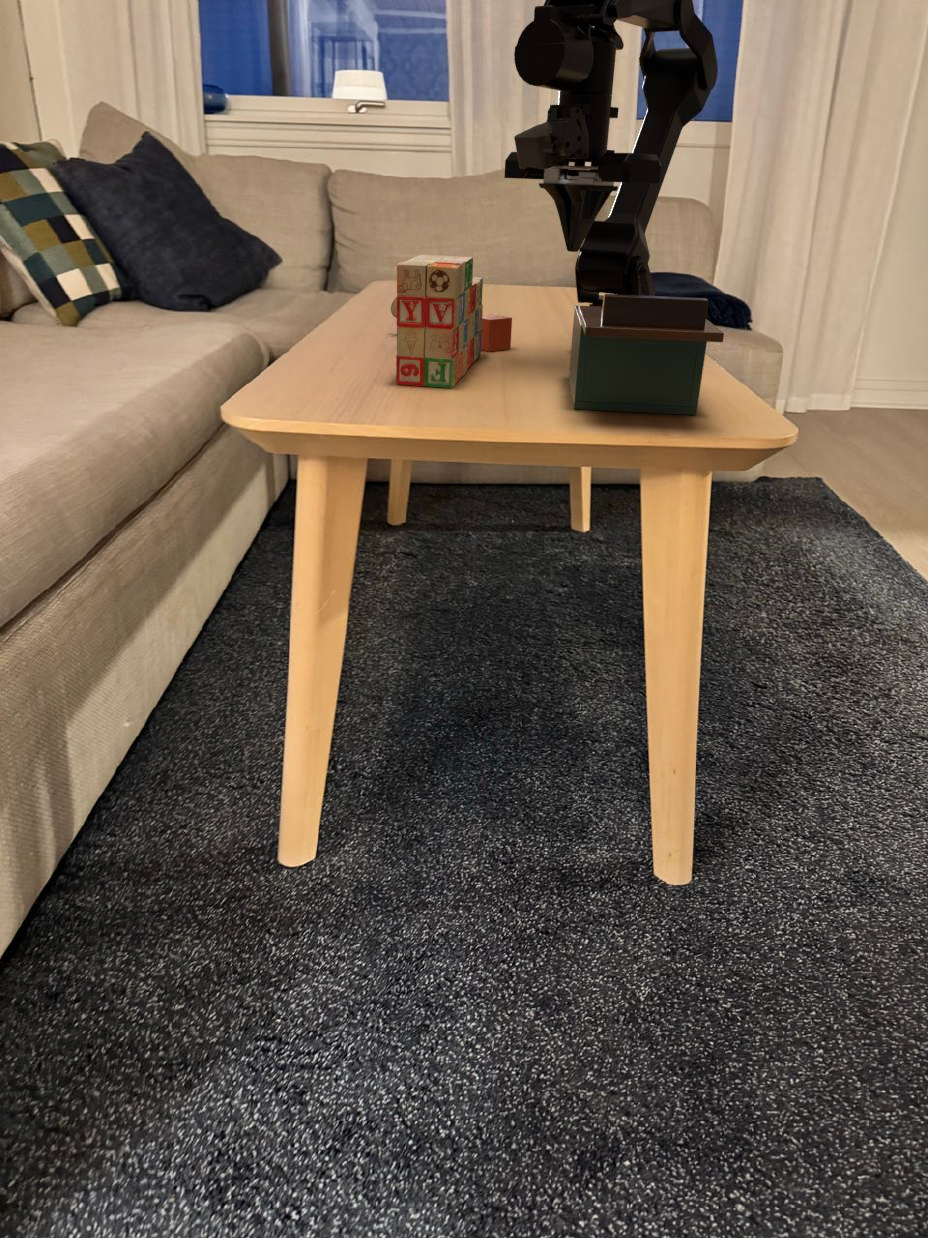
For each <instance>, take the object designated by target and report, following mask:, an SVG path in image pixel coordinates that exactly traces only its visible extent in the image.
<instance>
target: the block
mask: <svg viewBox="0 0 928 1238" xmlns="http://www.w3.org/2000/svg"><path fill="white" fill-rule="evenodd" d="M512 328H513V317H511V316H505V315H500V314H494V313H489V314H488V313H486V314H482V335H481V351H484V352H488V353H490V352H497V351H505V350H511V344H512V330H513V329H512Z"/></svg>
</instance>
